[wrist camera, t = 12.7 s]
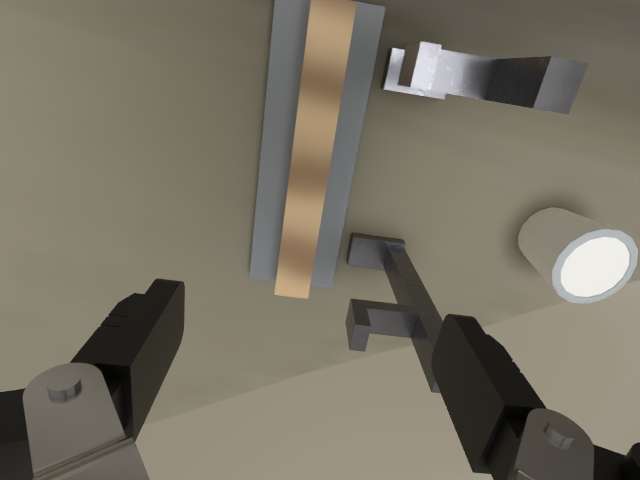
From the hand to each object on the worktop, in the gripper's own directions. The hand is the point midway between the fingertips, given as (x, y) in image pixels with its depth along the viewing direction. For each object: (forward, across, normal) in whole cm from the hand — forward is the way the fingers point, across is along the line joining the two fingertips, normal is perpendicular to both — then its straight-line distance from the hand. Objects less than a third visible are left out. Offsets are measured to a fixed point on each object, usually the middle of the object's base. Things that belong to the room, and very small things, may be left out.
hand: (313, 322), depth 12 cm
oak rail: (+23, 0, 0) cm, 23 cm away
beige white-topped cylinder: (+24, -24, +4) cm, 34 cm away
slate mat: (+24, 0, 0) cm, 24 cm away
